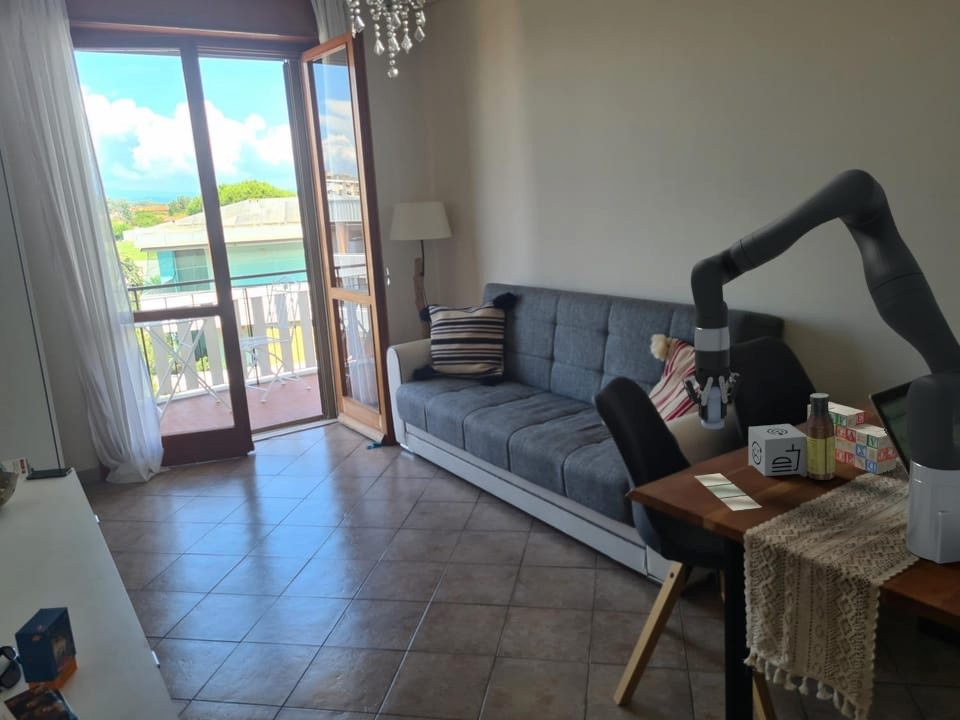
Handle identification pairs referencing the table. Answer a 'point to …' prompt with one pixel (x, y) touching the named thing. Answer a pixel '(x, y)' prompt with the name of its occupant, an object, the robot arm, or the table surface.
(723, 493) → the board
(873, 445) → the stack of blocks
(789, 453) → the icon cube
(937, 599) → the table surface
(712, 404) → the pawn
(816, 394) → the sauce bottle
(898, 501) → the table surface
